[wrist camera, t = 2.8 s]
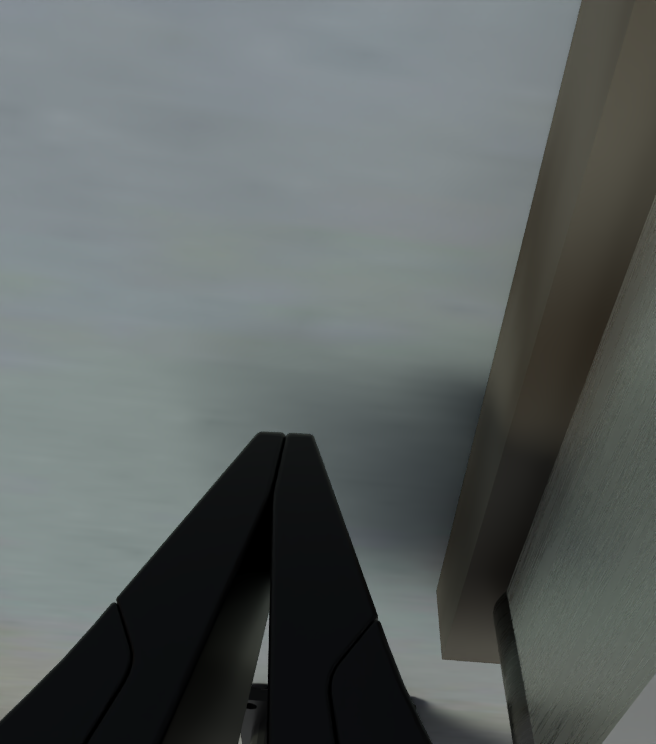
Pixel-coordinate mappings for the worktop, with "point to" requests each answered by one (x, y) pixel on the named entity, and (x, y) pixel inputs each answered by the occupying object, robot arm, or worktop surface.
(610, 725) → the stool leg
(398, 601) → the worktop surface
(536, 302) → the wooden board
